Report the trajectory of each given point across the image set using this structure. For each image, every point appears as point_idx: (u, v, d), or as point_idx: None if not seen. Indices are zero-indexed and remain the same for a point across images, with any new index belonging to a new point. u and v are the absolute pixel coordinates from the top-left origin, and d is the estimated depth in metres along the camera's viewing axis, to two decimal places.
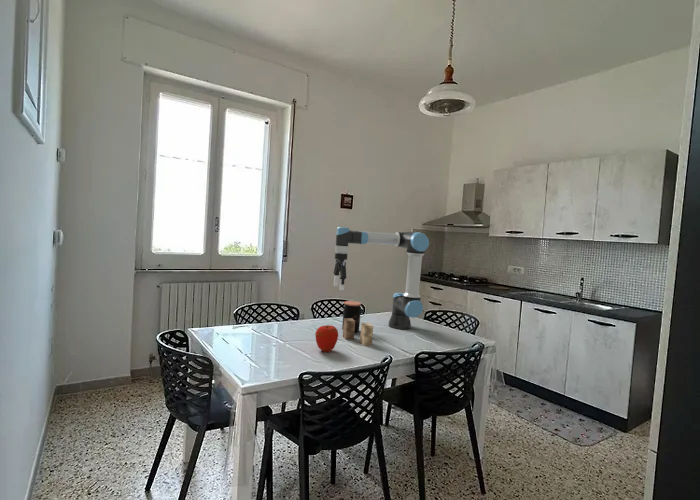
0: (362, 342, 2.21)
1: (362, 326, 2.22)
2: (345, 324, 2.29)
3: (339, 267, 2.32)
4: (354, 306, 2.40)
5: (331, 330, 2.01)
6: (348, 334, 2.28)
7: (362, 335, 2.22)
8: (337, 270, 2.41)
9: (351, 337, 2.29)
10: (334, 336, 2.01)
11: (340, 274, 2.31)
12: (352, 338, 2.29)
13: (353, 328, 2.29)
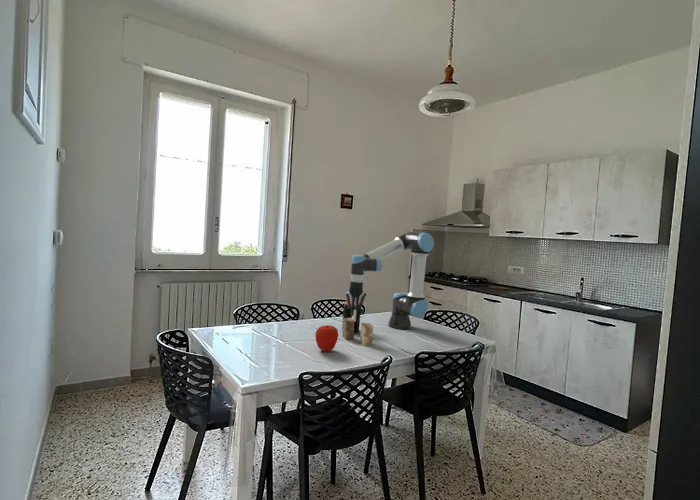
0: (362, 342, 2.21)
1: (362, 326, 2.22)
2: (344, 324, 2.29)
3: None
4: (354, 306, 2.40)
5: (331, 330, 2.01)
6: (348, 334, 2.28)
7: (362, 335, 2.22)
8: (355, 302, 2.31)
9: (351, 337, 2.29)
10: (334, 336, 2.01)
11: None
12: (352, 337, 2.29)
13: (352, 327, 2.28)
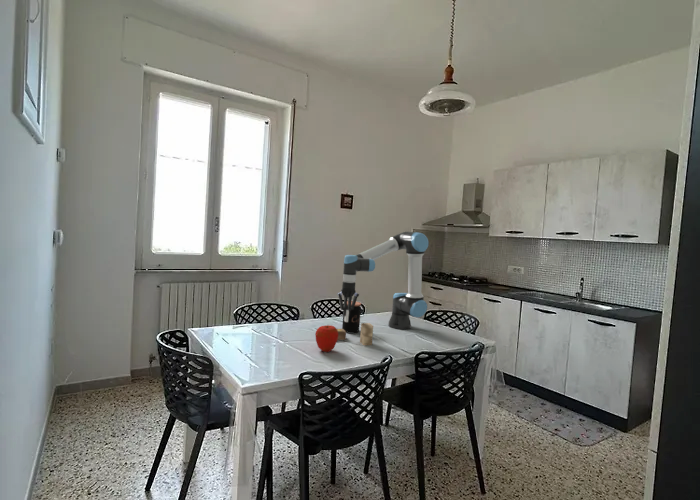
0: (362, 342, 2.21)
1: (362, 326, 2.22)
2: None
3: (344, 297, 2.30)
4: None
5: (331, 330, 2.01)
6: (340, 337, 2.27)
7: (362, 335, 2.22)
8: (348, 302, 2.30)
9: (344, 334, 2.27)
10: (334, 336, 2.01)
11: None
12: (345, 333, 2.27)
13: None
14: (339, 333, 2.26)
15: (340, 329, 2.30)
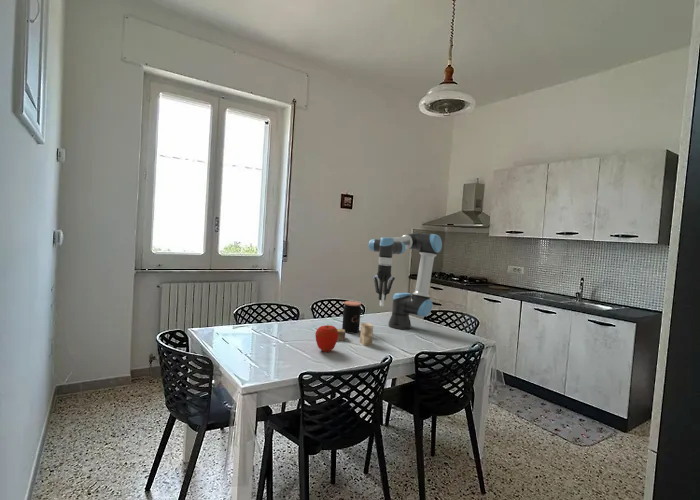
0: (362, 342, 2.21)
1: (362, 326, 2.22)
2: None
3: (379, 280, 2.24)
4: (354, 306, 2.40)
5: (331, 330, 2.01)
6: (339, 337, 2.26)
7: (362, 335, 2.22)
8: (384, 286, 2.24)
9: (343, 334, 2.26)
10: (334, 336, 2.01)
11: None
12: (344, 333, 2.26)
13: None
14: (338, 333, 2.26)
15: (341, 329, 2.30)
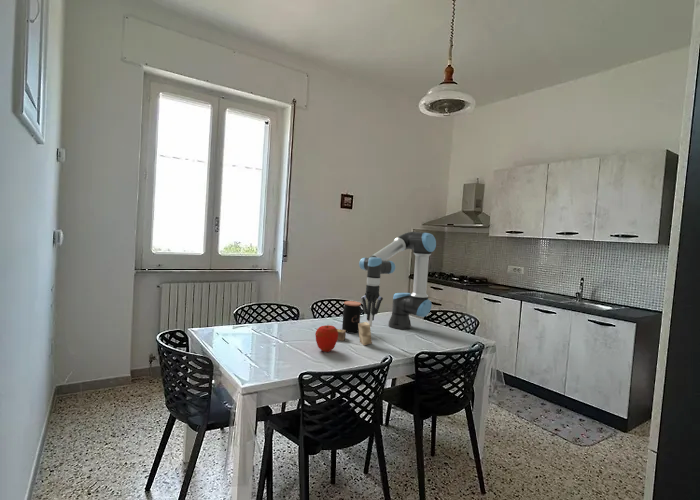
0: (362, 342, 2.21)
1: (359, 326, 2.22)
2: None
3: None
4: (354, 306, 2.40)
5: (331, 330, 2.01)
6: (338, 337, 2.25)
7: (361, 335, 2.21)
8: (372, 306, 2.23)
9: (341, 335, 2.25)
10: (334, 336, 2.01)
11: None
12: (342, 334, 2.25)
13: None
14: None
15: (341, 330, 2.29)
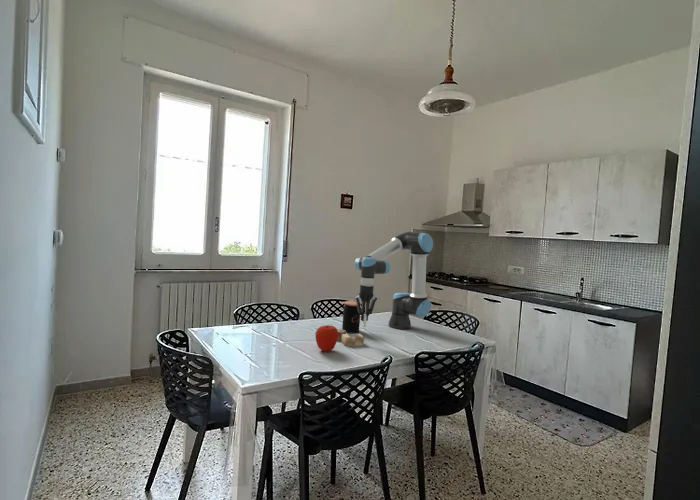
0: None
1: None
2: None
3: None
4: (354, 306, 2.41)
5: (331, 330, 2.01)
6: None
7: None
8: (366, 306, 2.22)
9: (340, 335, 2.24)
10: (334, 336, 2.01)
11: None
12: (341, 334, 2.24)
13: None
14: None
15: (341, 330, 2.28)
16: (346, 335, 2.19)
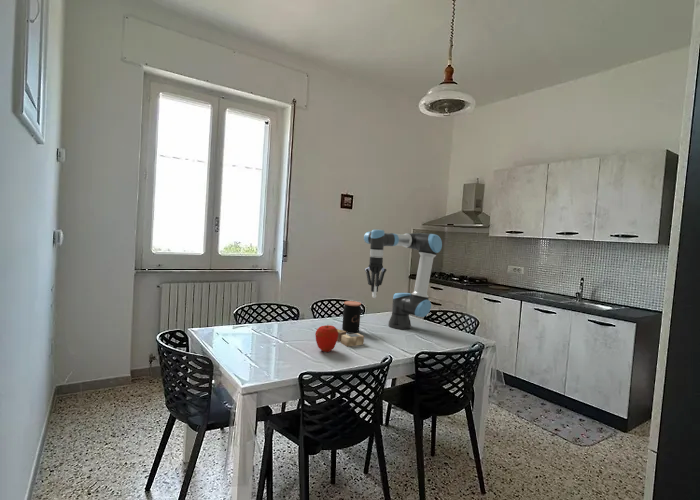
0: None
1: None
2: None
3: (371, 272, 2.27)
4: (354, 306, 2.40)
5: (331, 330, 2.01)
6: None
7: None
8: (376, 277, 2.27)
9: (338, 335, 2.24)
10: (334, 336, 2.01)
11: None
12: (339, 334, 2.23)
13: None
14: None
15: (341, 330, 2.27)
16: (346, 335, 2.19)
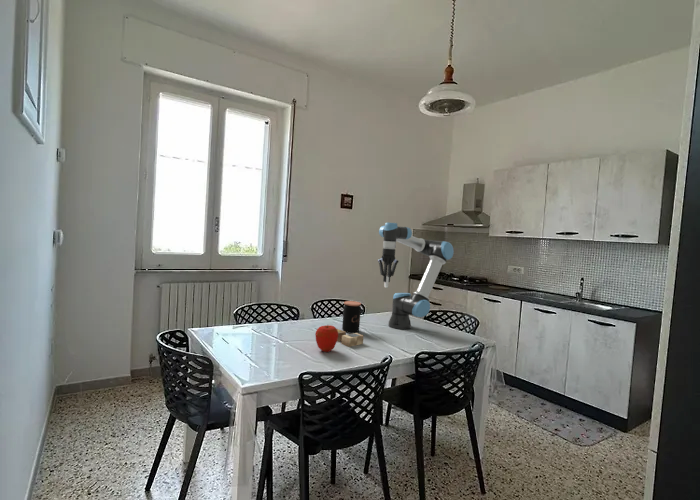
0: None
1: None
2: None
3: None
4: (354, 306, 2.40)
5: (331, 330, 2.01)
6: None
7: None
8: (388, 268, 2.37)
9: None
10: (334, 336, 2.01)
11: None
12: None
13: None
14: None
15: (340, 331, 2.27)
16: (347, 336, 2.18)
